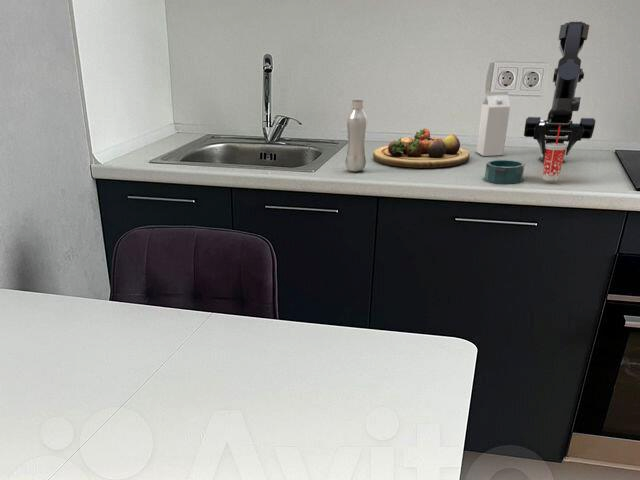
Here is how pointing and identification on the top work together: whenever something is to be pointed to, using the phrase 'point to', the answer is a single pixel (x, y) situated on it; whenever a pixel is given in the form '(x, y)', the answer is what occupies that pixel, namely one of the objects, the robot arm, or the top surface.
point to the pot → (504, 171)
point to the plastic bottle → (356, 137)
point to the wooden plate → (423, 151)
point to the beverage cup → (553, 159)
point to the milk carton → (493, 124)
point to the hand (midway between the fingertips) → (554, 154)
